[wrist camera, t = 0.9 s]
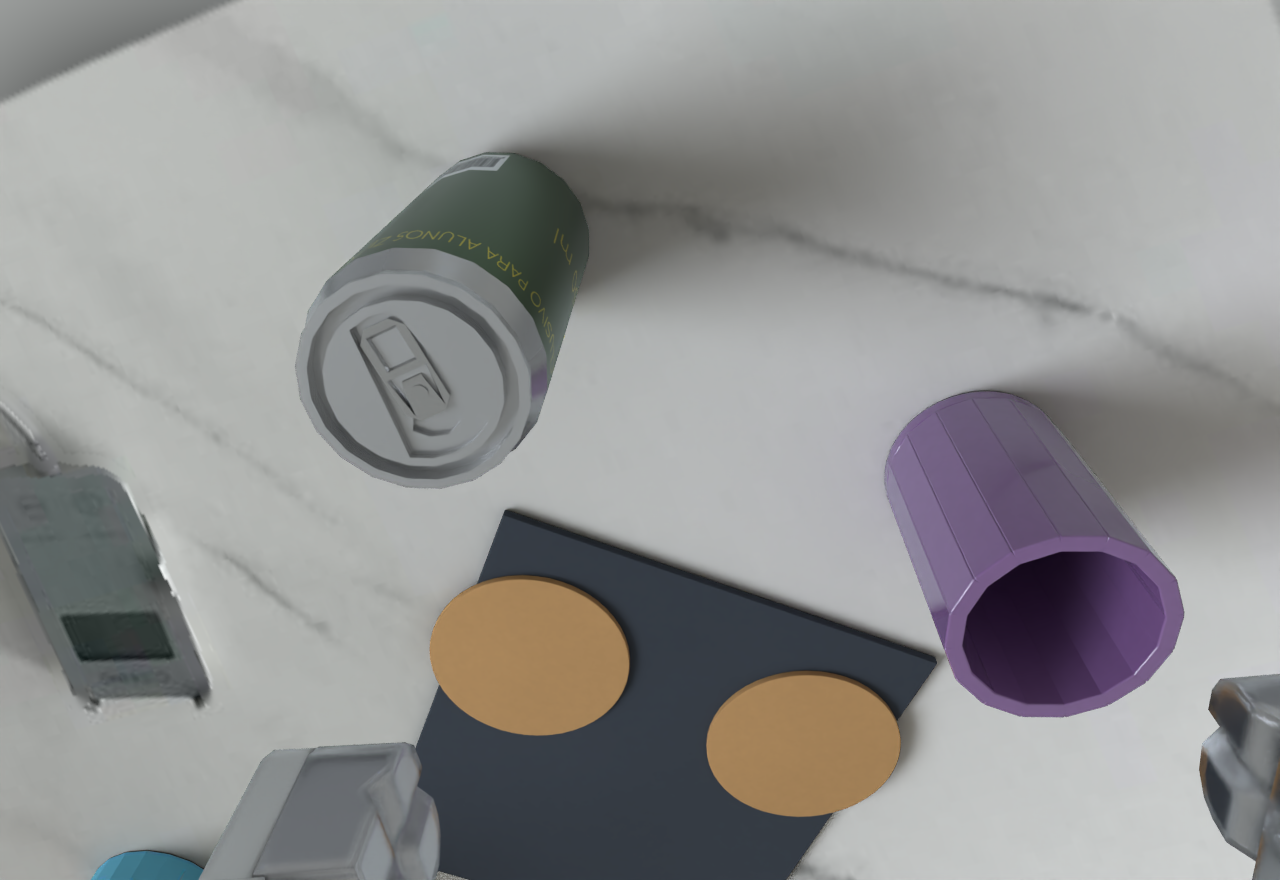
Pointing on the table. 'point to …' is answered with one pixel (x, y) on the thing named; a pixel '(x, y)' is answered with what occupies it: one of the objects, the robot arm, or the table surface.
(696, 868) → the placemat
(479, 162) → the beer can
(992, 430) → the purple cup
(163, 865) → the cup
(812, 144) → the table surface
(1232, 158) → the table surface
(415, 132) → the table surface
